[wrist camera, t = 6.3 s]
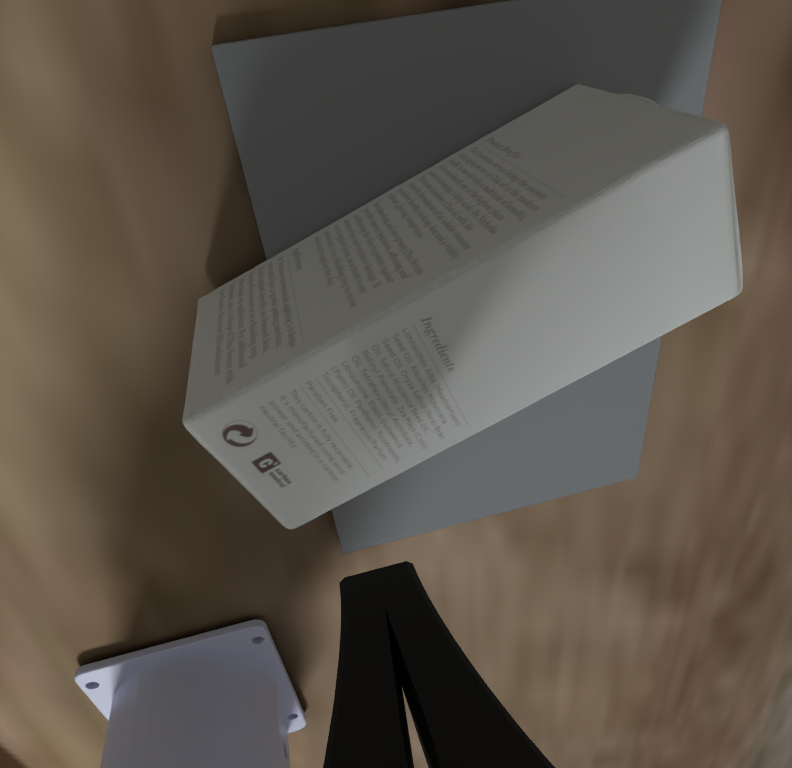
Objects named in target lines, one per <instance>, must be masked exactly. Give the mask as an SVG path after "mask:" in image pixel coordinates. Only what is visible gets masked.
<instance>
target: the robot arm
mask: <svg viewBox="0 0 792 768" xmlns="http://www.w3.org/2000/svg"><path fill="white" fill-rule="evenodd" d="M340 593H341V635H340V651H339V662H338V671H337V680H336V689H335V698H334V705H333V712H332V718H331V724H330V730H329V736H328V743H327V749H326V755H325V760H324V766H323V768H414V764H413V758H412V751H411V744H410V738H409V731H408V725H407V718H406V711H405V705H404V698H403V691H404V694H405V697H406V700H407V703H408V706H409V709H410V712H411V715H412V718H413V721H414V724H415V728H416V731H417V734H418V737H419V740H420V743H421V746H422V749H423V752H424V755H425V758H426V761H427V764H428V767H429V768H555V767H554V766H553V765H552V764H551V763H550V762H549V760H548V759H547V758H546V757H545V756H544V755H543V753H542V752H541V751H540V750H539V749H538V748H537V747H536V745H535V744H534V743H533V742H532V741H531V740H530V738H529V737H528V736H527V735H526V734H525V732H524V731H523V730H522V729H521V728H520V726H519V725H518V724H517V723H516V722H515V720H514V719H513V718H512V717H511V715H510V714H509V713H508V712H507V710H506V709H505V708H504V707H503V705H502V704H501V703H500V701H499V700H498V699H497V697H496V696H495V695H494V694H493V692H492V691H491V690H490V688H489V687H488V686H487V684H486V683H485V682H484V680H483V679H482V678H481V676H480V675H479V674H478V672H477V671H476V670H475V668H474V667H473V665H472V664H471V662H470V661H469V659H468V658H467V657H466V655H465V654H464V652H463V651H462V649H461V648H460V646H459V645H458V644H457V642H456V641H455V639H454V638H453V636H452V635H451V633H450V632H449V630H448V628H447V627H446V625H445V624H444V622H443V620H442V619H441V617H440V615H439V614H438V612H437V611H436V609H435V607H434V606H433V604H432V602H431V600H430V598H429V597H428V595H427V593H426V591H425V589H424V587H423V585H422V583H421V581H420V579H419V577H418V575H417V573H416V571H415V568H414V566H413V564H412V563H410V562H407V561H405V562H402V563H398V564H394V565H390V566H387V567H383V568H379V569H375V570H371V571H368V572H364V573H360V574H356V575H353V576H349V577H345V578H344V579H343V580H342V581H341V582H340ZM74 680H75V682H76V683H77V684H78V686H79V687H80V688H81V689H82V690H83V691H84V693H85V694H86V695H87V696H88V697H89V698H90V700H91V701H92V702H93V703H94V704H95V706H96V707H97V708H98V709H99V710H100V711H101V713H102V714H103V715H104V716H105V717H106V718H107V720H108V721H109V722H108V727H107V733H106V739H105V744H104V750H103V755H102V761H101V767H100V768H290V758H289V744H288V733H290V732H294V731H297V730H300V729H302V728H304V727H305V725H306V716H305V714H304V711H303V709H302V707H301V704H300V702H299V700H298V697H297V695H296V693H295V690H294V688H293V686H292V683H291V681H290V679H289V676H288V674H287V672H286V669H285V667H284V665H283V662H282V660H281V658H280V655H279V653H278V651H277V648H276V646H275V644H274V641H273V639H272V637H271V634H270V632H269V630H268V627H267V625H266V623H265V622H264V621H262V620H257V619H255V620H250V621H246V622H243V623H239V624H235V625H231V626H228V627H224V628H220V629H216V630H213V631H209V632H205V633H202V634H198V635H194V636H190V637H187V638H183V639H179V640H175V641H172V642H168V643H164V644H161V645H157V646H153V647H149V648H146V649H142V650H138V651H135V652H131V653H127V654H123V655H120V656H116V657H112V658H108V659H105V660H101V661H97V662H94V663H90V664H86V665H83V666H81V667H79V668H78V669H77V670H76V674H75V678H74ZM402 688H403V691H402Z"/></svg>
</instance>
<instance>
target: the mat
mask: <svg viewBox="0 0 792 768" xmlns="http://www.w3.org/2000/svg"><path fill="white" fill-rule="evenodd" d="M721 3H722V0H507V1H500V2H494V3H487V4H480V5H473V6H467V7H460V8H453V9H447V10H440V11H433V12H427V13H420V14H413V15H407V16H400V17H393V18H387V19H380V20H373V21H366V22H360V23H353V24H346V25H340V26H333V27H326V28H320V29H313V30H306V31H300V32H293V33H286V34H279V35H273V36H266V37H259V38H253V39H246V40H239V41H233V42H226V43H219V44H213V45H211V49H212V53H213V57H214V61H215V65H216V69H217V72H218V76H219V80H220V84H221V88H222V92H223V95H224V99H225V103H226V107H227V111H228V115H229V118H230V122H231V126H232V130H233V134H234V138H235V141H236V145H237V149H238V153H239V157H240V161H241V164H242V168H243V172H244V176H245V180H246V184H247V187H248V191H249V195H250V199H251V203H252V207H253V210H254V214H255V218H256V222H257V226H258V230H259V233H260V237H261V241H262V245H263V249H264V253H265V256H266V260H268V259H270V258H272V257H274V256H275V255H277V254H279V253H280V252H282V251H284V250H286V249H288V248H289V247H291V246H293V245H295V244H297V243H298V242H300V241H302V240H304V239H305V238H307V237H309V236H310V235H312V234H314V233H316V232H317V231H319V230H321V229H323V228H324V227H326V226H328V225H330V224H331V223H333V222H335V221H337V220H339V219H340V218H342V217H344V216H346V215H347V214H349V213H351V212H353V211H354V210H356V209H358V208H360V207H361V206H363V205H365V204H367V203H368V202H370V201H372V200H374V199H375V198H377V197H379V196H381V195H382V194H384V193H386V192H387V191H389V190H391V189H393V188H394V187H396V186H398V185H400V184H402V183H404V182H405V181H407V180H409V179H410V178H412V177H414V176H416V175H418V174H419V173H421V172H423V171H425V170H426V169H428V168H430V167H432V166H433V165H435V164H437V163H439V162H440V161H442V160H444V159H445V158H447V157H449V156H451V155H452V154H454V153H456V152H458V151H459V150H461V149H463V148H465V147H467V146H468V145H470V144H472V143H474V142H476V141H477V140H479V139H481V138H482V137H484V136H486V135H488V134H490V133H491V132H493V131H495V130H497V129H499V128H500V127H502V126H504V125H505V124H507V123H509V122H511V121H512V120H514V119H516V118H518V117H520V116H521V115H523V114H525V113H527V112H529V111H531V110H532V109H534V108H536V107H538V106H539V105H541V104H543V103H545V102H546V101H548V100H550V99H552V98H553V97H555V96H557V95H559V94H561V93H562V92H564V91H566V90H567V89H569V88H571V87H573V86H574V85H577V84H581V85H584V86H588V87H592V88H596V89H600V90H604V91H607V92H610V93H616V94H633V95H637V96H642V97H646V98H648V99H651V100H653V101H654V102H656V103H657V104H659V105H661V106H665V107H669V108H672V109H675V110H678V111H682V112H685V113H689V114H693V115H697V116H701V115H702V109H703V104H704V98H705V93H706V87H707V81H708V76H709V70H710V65H711V59H712V53H713V48H714V42H715V37H716V31H717V25H718V20H719V14H720V9H721ZM661 339H662V336H660V337H658V338H656V339H654V340H652V341H650V342H648V343H647V344H645V345H643V346H641V347H639V348H637V349H635V350H633V351H631V352H629V353H628V354H626V355H624V356H622V357H620V358H618V359H616V360H614V361H612V362H611V363H609V364H607V365H605V366H603V367H601V368H599V369H597V370H596V371H594V372H592V373H590V374H588V375H586V376H584V377H582V378H580V379H578V380H576V381H574V382H572V383H570V384H569V385H567V386H565V387H563V388H561V389H559V390H557V391H555V392H554V393H552V394H550V395H548V396H546V397H544V398H542V399H540V400H538V401H537V402H535V403H533V404H531V405H529V406H527V407H525V408H523V409H521V410H520V411H518V412H516V413H514V414H512V415H510V416H508V417H506V418H505V419H503V420H501V421H499V422H497V423H495V424H493V425H491V426H489V427H487V428H485V429H483V430H482V431H480V432H478V433H476V434H474V435H472V436H470V437H468V438H466V439H464V440H462V441H461V442H459V443H457V444H455V445H453V446H451V447H449V448H447V449H445V450H443V451H441V452H440V453H438V454H436V455H434V456H432V457H430V458H428V459H426V460H424V461H423V462H421V463H419V464H417V465H415V466H413V467H411V468H409V469H407V470H406V471H404V472H402V473H400V474H398V475H396V476H394V477H392V478H390V479H388V480H386V481H384V482H383V483H381V484H379V485H377V486H375V487H373V488H371V489H369V490H368V491H366V492H364V493H362V494H360V495H358V496H356V497H354V498H352V499H350V500H349V501H347V502H345V503H343V504H341V505H339V506H337V507H335V508H333V509H331V510H332V513H333V517H334V521H335V525H336V529H337V533H338V536H339V540H340V544H341V548H342V552H343V554H345V553H348V552H352V551H356V550H360V549H364V548H368V547H372V546H375V545H379V544H383V543H387V542H391V541H395V540H398V539H402V538H406V537H410V536H414V535H418V534H422V533H425V532H429V531H433V530H437V529H441V528H445V527H448V526H452V525H456V524H460V523H464V522H468V521H472V520H475V519H479V518H483V517H487V516H491V515H495V514H499V513H502V512H506V511H510V510H514V509H518V508H522V507H525V506H529V505H533V504H537V503H541V502H545V501H549V500H552V499H556V498H560V497H564V496H568V495H572V494H576V493H579V492H583V491H587V490H591V489H595V488H599V487H602V486H606V485H610V484H614V483H618V482H622V481H626V480H629V479H633V478H637V474H638V468H639V462H640V457H641V451H642V446H643V440H644V434H645V429H646V423H647V418H648V412H649V406H650V401H651V395H652V390H653V384H654V378H655V373H656V367H657V362H658V356H659V350H660V345H661Z"/></svg>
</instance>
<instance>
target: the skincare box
mask: <svg viewBox="0 0 792 768" xmlns="http://www.w3.org/2000/svg"><path fill="white" fill-rule="evenodd" d="M742 288H743V279H742V259H741V246H740V238H739V227H738V218H737V209H736V200H735V190H734V180H733V169H732V158H731V148H730V137H729V131H728V127H727V126H726V125H725V124H724V123H722V122H719V121H715V120H711V119H707V118H704V117H701V116H697V115H693V114H689V113H685V112H682V111H678V110H675V109H672V108H669V107H665V106H661V105H659V104H657V103H656V102H654V101H653V100H651V99H648V98H646V97H642V96H637V95H633V94H616V93H610V92H607V91H604V90H600V89H596V88H592V87H588V86H584V85H581V84H577V85H574V86H573V87H571V88H569V89H567V90H566V91H564V92H562V93H561V94H559V95H557V96H555V97H553V98H552V99H550V100H548V101H546V102H545V103H543V104H541V105H539V106H538V107H536V108H534V109H532V110H531V111H529V112H527V113H525V114H523V115H521V116H520V117H518V118H516V119H514V120H512V121H511V122H509V123H507V124H505V125H504V126H502V127H500V128H499V129H497V130H495V131H493V132H491V133H490V134H488V135H486V136H484V137H482V138H481V139H479V140H477V141H476V142H474V143H472V144H470V145H468V146H467V147H465V148H463V149H461V150H459V151H458V152H456V153H454V154H452V155H451V156H449V157H447V158H445V159H444V160H442V161H440V162H439V163H437V164H435V165H433V166H432V167H430V168H428V169H426V170H425V171H423V172H421V173H419V174H418V175H416V176H414V177H412V178H410V179H409V180H407V181H405V182H404V183H402V184H400V185H398V186H396V187H394V188H393V189H391V190H389V191H387V192H386V193H384V194H382V195H381V196H379V197H377V198H375V199H374V200H372V201H370V202H368V203H367V204H365V205H363V206H361V207H360V208H358V209H356V210H354V211H353V212H351V213H349V214H347V215H346V216H344V217H342V218H340V219H339V220H337V221H335V222H333V223H331V224H330V225H328V226H326V227H324V228H323V229H321V230H319V231H317V232H316V233H314V234H312V235H310V236H309V237H307V238H305V239H304V240H302V241H300V242H298V243H297V244H295V245H293V246H291V247H289V248H288V249H286V250H284V251H282V252H280V253H279V254H277V255H275V256H274V257H272V258H270V259H268V260H266V261H265V262H263V263H261V264H259V265H257V266H256V267H254V268H252V269H251V270H249V271H247V272H245V273H243V274H241V275H240V276H238V277H236V278H234V279H233V280H231V281H229V282H227V283H226V284H224V285H222V286H220V287H219V288H217V289H215V290H213V291H212V292H210V293H208V294H206V295H205V296H203V297H201V298H200V299H199V300H198V307H197V316H196V324H195V331H194V339H193V346H192V354H191V362H190V370H189V377H188V384H187V392H186V399H185V406H184V412H183V418H182V420H183V424H184V426H185V428H186V429H187V430H188V431H189V432H190V434H191V435H192V436H193V437H194V438H195V439H196V440H197V441H198V442H199V443H200V444H201V445H202V446H203V447H204V448H205V449H206V450H207V451H208V452H209V453H210V454H211V455H212V456H213V457H214V458H215V459H216V460H218V461H219V462H220V463H221V464H222V465H223V466H224V467H225V468H226V469H227V470H228V471H229V472H230V473H231V475H232V476H234V477H235V478H236V479H237V480H238V481H239V482H240V483H241V484H242V485H243V486H244V487H245V488H246V489H247V490H248V491H249V492H250V493H251V494H252V495H253V496H254V497H255V498H256V499H257V500H258V501H259V502H260V503H261V504H262V505H263V506H264V507H265V508H266V509H267V510H268V511H269V512H270V513H271V514H272V515H273V516H274V518H275V519H276V520H277V521H278V522H279V523H280V524H281V525H283V526H284V527H285V528H287V529H295V528H297V527H299V526H301V525H303V524H305V523H307V522H309V521H311V520H313V519H315V518H317V517H318V516H320V515H322V514H324V513H326V512H327V511H329V510H331V509H333V508H335V507H337V506H339V505H341V504H343V503H345V502H347V501H349V500H350V499H352V498H354V497H356V496H358V495H360V494H362V493H364V492H366V491H368V490H369V489H371V488H373V487H375V486H377V485H379V484H381V483H383V482H384V481H386V480H388V479H390V478H392V477H394V476H396V475H398V474H400V473H402V472H404V471H406V470H407V469H409V468H411V467H413V466H415V465H417V464H419V463H421V462H423V461H424V460H426V459H428V458H430V457H432V456H434V455H436V454H438V453H440V452H441V451H443V450H445V449H447V448H449V447H451V446H453V445H455V444H457V443H459V442H461V441H462V440H464V439H466V438H468V437H470V436H472V435H474V434H476V433H478V432H480V431H482V430H483V429H485V428H487V427H489V426H491V425H493V424H495V423H497V422H499V421H501V420H503V419H505V418H506V417H508V416H510V415H512V414H514V413H516V412H518V411H520V410H521V409H523V408H525V407H527V406H529V405H531V404H533V403H535V402H537V401H538V400H540V399H542V398H544V397H546V396H548V395H550V394H552V393H554V392H555V391H557V390H559V389H561V388H563V387H565V386H567V385H569V384H570V383H572V382H574V381H576V380H578V379H580V378H582V377H584V376H586V375H588V374H590V373H592V372H594V371H596V370H597V369H599V368H601V367H603V366H605V365H607V364H609V363H611V362H612V361H614V360H616V359H618V358H620V357H622V356H624V355H626V354H628V353H629V352H631V351H633V350H635V349H637V348H639V347H641V346H643V345H645V344H647V343H648V342H650V341H652V340H654V339H656V338H658V337H660V336H662V335H664V334H665V333H667V332H669V331H671V330H673V329H675V328H677V327H679V326H680V325H682V324H684V323H686V322H688V321H690V320H692V319H694V318H696V317H698V316H700V315H701V314H703V313H705V312H707V311H709V310H711V309H713V308H715V307H717V306H719V305H721V304H722V303H724V302H726V301H728V300H730V299H732V298H734V297H735V296H737V295H738V294H740V293H741V292H742Z"/></svg>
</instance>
